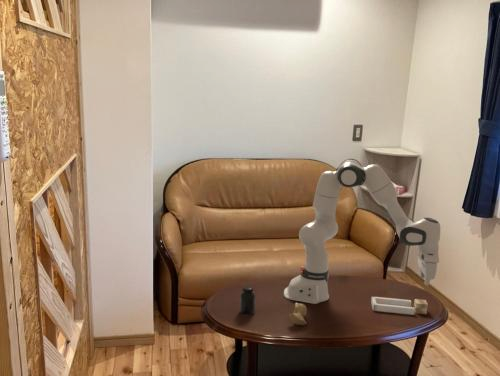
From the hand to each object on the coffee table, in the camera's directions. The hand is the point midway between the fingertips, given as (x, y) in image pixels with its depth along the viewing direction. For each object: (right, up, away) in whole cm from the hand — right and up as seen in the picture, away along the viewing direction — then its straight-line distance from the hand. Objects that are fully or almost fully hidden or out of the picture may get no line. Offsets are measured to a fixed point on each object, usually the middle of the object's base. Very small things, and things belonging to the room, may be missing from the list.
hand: (424, 281), depth 214 cm
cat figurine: (-60, -16, -11) cm, 63 cm away
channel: (-13, -14, +5) cm, 20 cm away
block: (-1, -15, +3) cm, 15 cm away
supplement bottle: (-83, -13, -5) cm, 84 cm away
